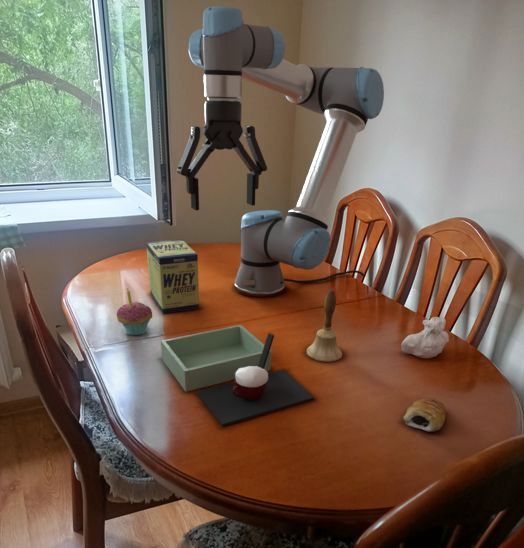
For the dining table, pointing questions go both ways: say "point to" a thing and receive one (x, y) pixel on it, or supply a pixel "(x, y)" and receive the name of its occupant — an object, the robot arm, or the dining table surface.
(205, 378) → the tote
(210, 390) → the mat
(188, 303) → the protein box
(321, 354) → the hand bell
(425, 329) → the white animal figurine
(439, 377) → the dining table surface
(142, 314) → the cupcake
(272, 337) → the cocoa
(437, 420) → the pastry
